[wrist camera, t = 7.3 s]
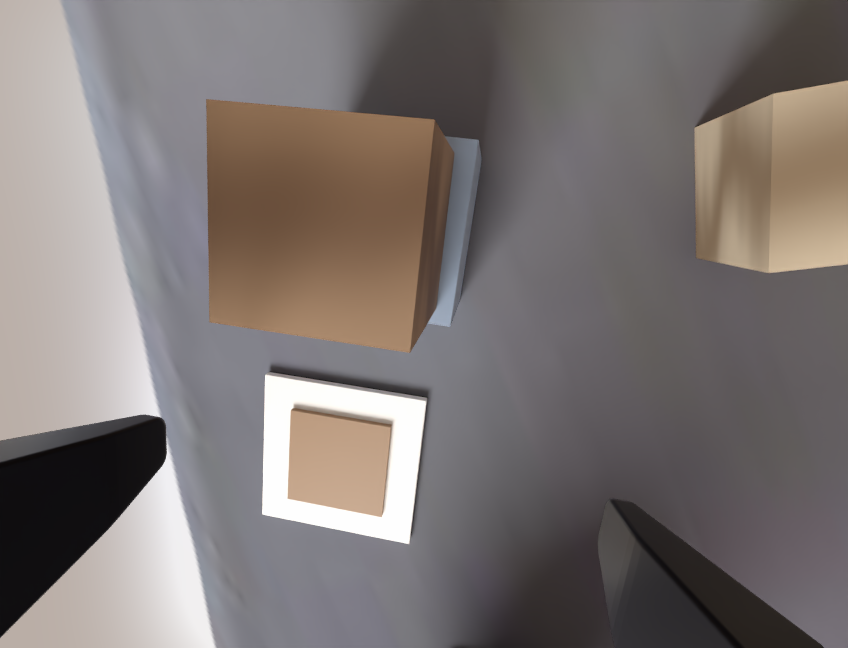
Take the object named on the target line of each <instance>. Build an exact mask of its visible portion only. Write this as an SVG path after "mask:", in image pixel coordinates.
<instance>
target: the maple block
mask: <svg viewBox="0 0 848 648" xmlns="http://www.w3.org/2000/svg"><path fill="white" fill-rule="evenodd" d="M695 206H696V258H699V259H703V260H708V261H713V262H718V263H722V264H727V265H732V266H737V267H742V268H746V269H751V270H756V271H761V272H766V273H775V272H783V271H792V270H801V269H810V268H819V267H828V266H836V265H845V264H848V81H842V82H837V83H831V84H825V85H820V86H814V87H808V88H803V89H797V90H791V91H786V92H780V93H774V94H771V95H769V96H767V97H764V98H762V99H760V100H757V101H755V102H753V103H751V104H748V105H746V106H744V107H741V108H739V109H737V110H734V111H732V112H730V113H727V114H725V115H723V116H720V117H718V118H716V119H713V120H711V121H709V122H707V123H704V124H702V125H700V126H697V127H695Z"/></svg>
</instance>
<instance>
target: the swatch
mask: <svg viewBox="0 0 848 648" xmlns="http://www.w3.org/2000/svg"><path fill="white" fill-rule="evenodd" d="M426 404H427V398H426V397H419V396H413V395H407V394H401V393H395V392H389V391H383V390H376V389H370V388H364V387H358V386H352V385H346V384H340V383H333V382H327V381H321V380H315V379H309V378H303V377H297V376H291V375H284V374H278V373H272V372H269V373H267V374H266V375H265V413H264V462H263V512H262V514H263V515H268V516H273V517H278V518H283V519H288V520H293V521H298V522H303V523H308V524H313V525H318V526H323V527H328V528H333V529H338V530H343V531H347V532H352V533H357V534H362V535H367V536H372V537H377V538H382V539H387V540H392V541H397V542H402V543H407V544H409V542H410V537H411V529H412V520H413V512H414V504H415V495H416V487H417V479H418V471H419V462H420V454H421V446H422V438H423V429H424V421H425V413H426Z"/></svg>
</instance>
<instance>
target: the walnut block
mask: <svg viewBox="0 0 848 648" xmlns="http://www.w3.org/2000/svg"><path fill="white" fill-rule="evenodd" d="M206 107H207V178H208V248H209V318H210V322H211V323H218V324H225V325H231V326H238V327H244V328H251V329H258V330H264V331H271V332H277V333H284V334H290V335H297V336H304V337H310V338H317V339H323V340H330V341H337V342H343V343H350V344H356V345H363V346H369V347H376V348H383V349H389V350H396V351H402V352H409V353H410V352H411V350H412V348H413V347H414V345H415V343H416V342H417V340H418V338H419V337H420V335H421V333H422V332H423V330H424V328H425V327H426V325H427V323H428V322H429V320H430V318H431V317H432V315H433V313H434V312H435V310H436V306H437V297H438V289H439V280H440V272H441V264H442V255H443V247H444V238H445V230H446V222H447V213H448V205H449V196H450V188H451V179H452V171H453V163H454V154H455V153H454V151H453V150H452V148H451V146H450V145H449V143H448V141H447V139H446V138H445V136H444V134H443V133H442V131H441V129H440V128H439V126H438V124H437V123H436V121H435V120H434V119H423V118H411V117H400V116H389V115H378V114H366V113H355V112H344V111H333V110H321V109H310V108H299V107H288V106H276V105H265V104H254V103H242V102H231V101H220V100H209V99H206Z"/></svg>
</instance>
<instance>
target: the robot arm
mask: <svg viewBox="0 0 848 648" xmlns="http://www.w3.org/2000/svg"><path fill="white" fill-rule="evenodd" d="M166 454H167V448H166V424H165V421H164V420H163V419H162V418H160V417H155V416H150V415H138V416H133V417H127V418H122V419H116V420H111V421H105V422H100V423H94V424H89V425H83V426H78V427H72V428H67V429H62V430H56V431H50V432H45V433H40V434H35V435H29V436H23V437H18V438H13V439H7V440H1V441H0V638H1V637H2V636H3V635H4V634H5V633H6V632H7V631H8V630H9V629H10V628H11V626H13V625H14V624H15V623H16V622H17V621H18V620H19V619H20V618H21V617H22V616H23V615H24V614H25V613H26V612H27V611H28V610H29V609H30V608H31V607H32V606H33V605H34V603H36V601H38V600H39V599H40V598H41V597H42V596H43V595H44V594H45V593H46V591H47V590H49V588H50V587H51V586H53V584H54V583H56V581H57V580H58V579H59V578H60V577H61V576H62V575H63V574H64V573H65V572H66V571H67V570H68V569H69V568H70V567H71V566H72V565H73V564H74V563H75V562H76V561H77V560H78V559H79V558H80V557H81V556H82V555H83V554H84V553H85V552H86V551H87V550H88V549H89V548H90V547H91V546H92V545H93V544H94V543H95V542H96V541H97V540H98V539H99V538H100V537H101V536H102V535H103V534H104V533H105V532H106V531H107V530H108V529H109V528H110V527H111V526H112V525H113V523H114V522H115V521H116V520H117V519H118V518H119V517H120V515H121V514H122V513H123V512H124V511H125V509H126V508H127V507H128V506H129V505H130V503H131V502H132V501H133V500H134V499H135V497H136V496H137V495H138V494H139V493H140V492H141V490H142V489H143V488H144V487H145V486H146V484H147V483H148V482H149V481H150V480H151V479H152V477H153V476H154V475H155V473H157V471H158V470H159V469H160V468H161V467H162V465H163V463H164V461H165V459H166ZM598 554H599V560H600V566H601V573H602V579H603V585H604V592H605V598H606V604H607V610H608V617H609V623H610V628H611V634H612V638H613V642H614V646H615V648H824V647H823V646H822V645H821V644H820V643H818V642H817V641H816V640H814V639H813V638H812V637H810V636H809V635H808V634H806V633H805V632H804V631H802V630H801V629H800V628H798V627H797V626H796V625H794V624H793V623H792V622H790V621H789V620H788V619H786V618H785V617H784V616H782V615H781V614H780V613H778V612H777V611H776V610H774V609H773V608H772V607H770V606H769V605H768V604H767V603H765V602H764V601H763V600H761V599H760V598H759V597H757V596H756V595H755V594H753V593H752V592H751V591H749V590H748V589H747V588H745V587H744V586H743V585H741V584H740V583H739V582H737V581H736V580H735V579H733V578H732V577H731V576H729V575H728V574H727V573H725V572H724V571H723V570H721V569H720V568H719V567H717V566H716V565H715V564H713V563H712V562H711V561H709V560H708V559H707V558H705V557H704V556H703V555H701V554H700V553H699V552H697V551H696V550H695V549H694V548H692V547H691V546H690V545H688V544H687V543H686V542H684V541H683V540H682V539H680V538H679V537H678V536H676V535H675V534H674V533H672V532H671V531H670V530H668V529H667V528H666V527H664V526H663V525H662V524H660V523H659V522H658V521H656V520H655V519H654V518H652V517H651V516H650V515H648V514H647V513H646V512H644V511H643V510H642V509H640V508H639V507H638V506H636V505H635V504H634V503H632V502H629V501H623V500H618V499H609V500H608V501H607V503H606V506H605V510H604V514H603V518H602V523H601V527H600V531H599V536H598Z"/></svg>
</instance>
